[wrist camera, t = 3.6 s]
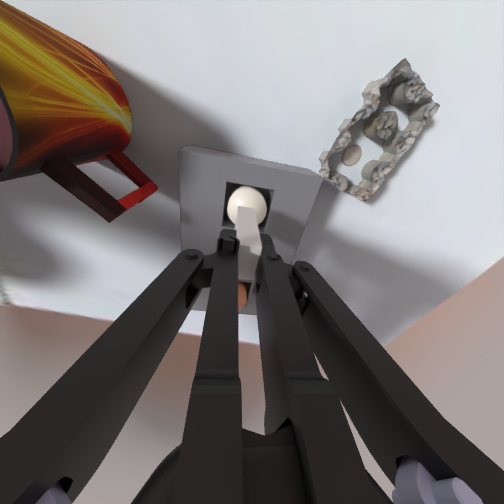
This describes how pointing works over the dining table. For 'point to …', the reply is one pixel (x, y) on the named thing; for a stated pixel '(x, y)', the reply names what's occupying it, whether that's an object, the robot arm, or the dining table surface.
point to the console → (217, 196)
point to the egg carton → (382, 129)
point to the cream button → (246, 201)
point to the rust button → (241, 294)
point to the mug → (62, 113)
